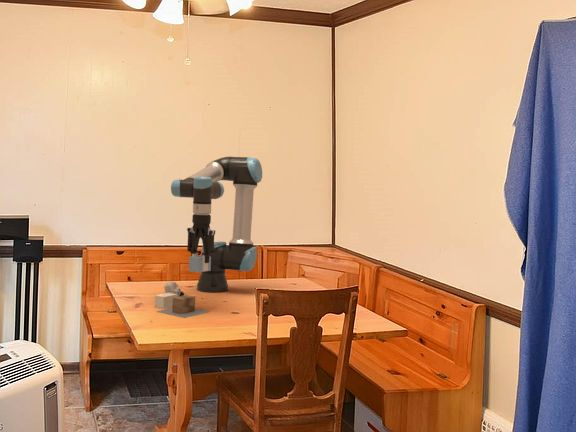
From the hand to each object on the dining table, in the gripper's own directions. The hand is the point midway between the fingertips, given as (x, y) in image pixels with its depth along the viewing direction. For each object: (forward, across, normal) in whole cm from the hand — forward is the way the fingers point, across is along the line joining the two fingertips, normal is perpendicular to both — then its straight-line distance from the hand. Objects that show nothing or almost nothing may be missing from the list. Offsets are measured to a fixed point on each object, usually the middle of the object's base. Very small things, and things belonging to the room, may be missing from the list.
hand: (199, 269), depth 289 cm
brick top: (0, 0, 0) cm, 0 cm away
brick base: (+16, 0, -9) cm, 18 cm away
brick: (+17, -12, -6) cm, 22 cm away
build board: (+17, 0, -9) cm, 19 cm away
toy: (+18, -19, +4) cm, 26 cm away
